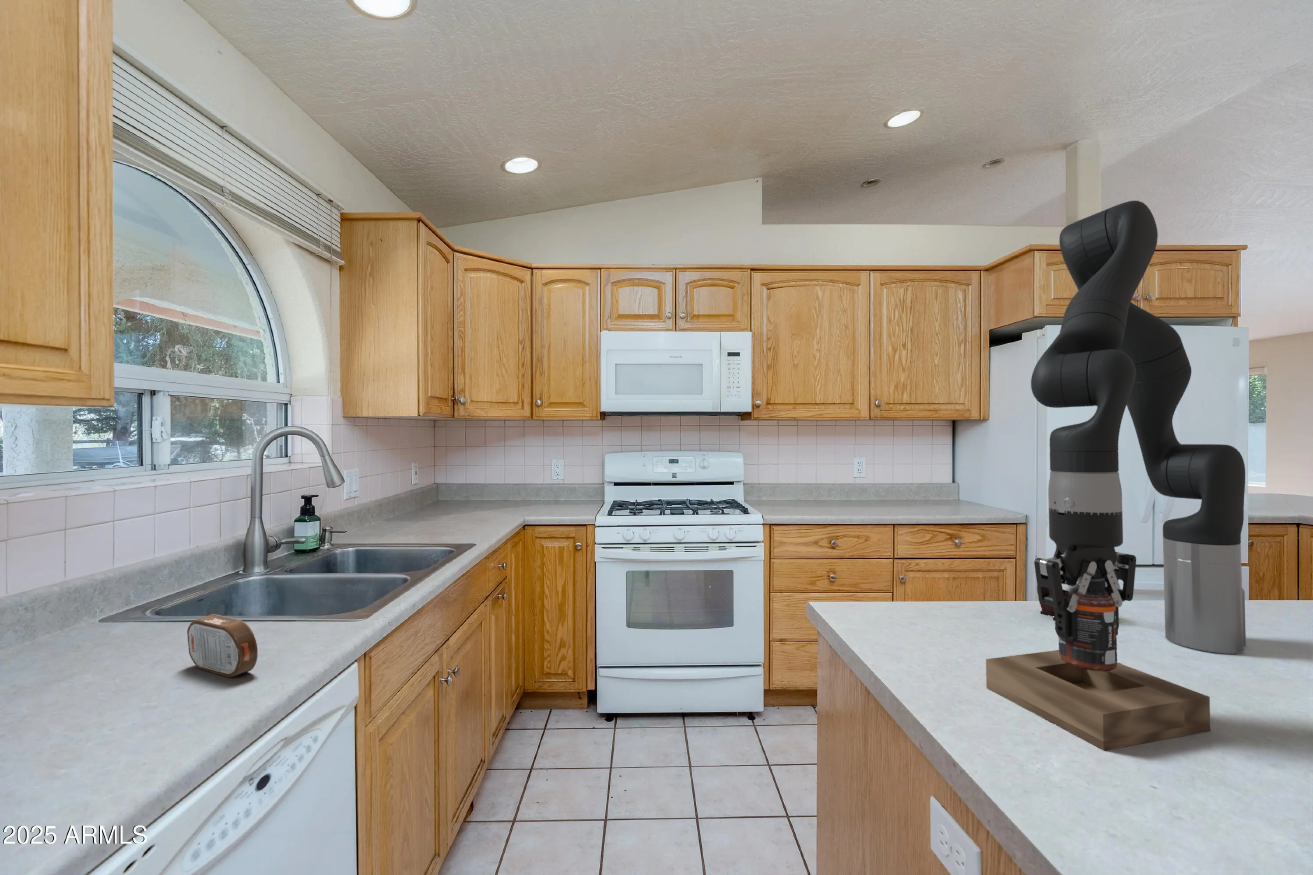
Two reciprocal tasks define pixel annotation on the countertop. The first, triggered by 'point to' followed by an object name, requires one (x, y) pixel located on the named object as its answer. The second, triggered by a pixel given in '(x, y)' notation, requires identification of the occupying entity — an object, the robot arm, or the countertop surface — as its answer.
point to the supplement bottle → (1093, 630)
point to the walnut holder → (1099, 699)
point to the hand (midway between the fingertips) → (1087, 635)
